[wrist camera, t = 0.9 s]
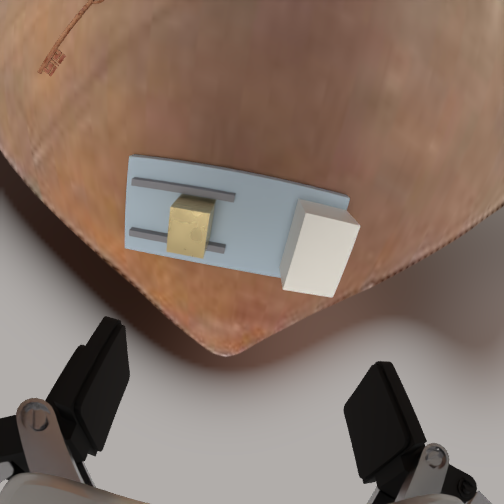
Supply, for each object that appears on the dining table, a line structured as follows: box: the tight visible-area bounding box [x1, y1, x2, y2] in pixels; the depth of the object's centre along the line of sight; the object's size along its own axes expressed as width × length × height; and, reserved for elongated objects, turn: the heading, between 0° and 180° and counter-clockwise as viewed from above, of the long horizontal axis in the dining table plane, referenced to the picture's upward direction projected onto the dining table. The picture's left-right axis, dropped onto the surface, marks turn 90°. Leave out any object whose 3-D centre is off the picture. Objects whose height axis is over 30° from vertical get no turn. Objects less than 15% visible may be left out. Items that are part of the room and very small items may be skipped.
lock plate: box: [125, 154, 350, 278], centre depth 33 cm, size 12×26×2 cm, turn 78°
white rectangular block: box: [279, 199, 360, 297], centre depth 32 cm, size 9×6×5 cm, turn 168°
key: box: [38, 0, 104, 76], centre depth 22 cm, size 6×1×15 cm
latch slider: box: [166, 194, 216, 259], centre depth 30 cm, size 5×4×5 cm
